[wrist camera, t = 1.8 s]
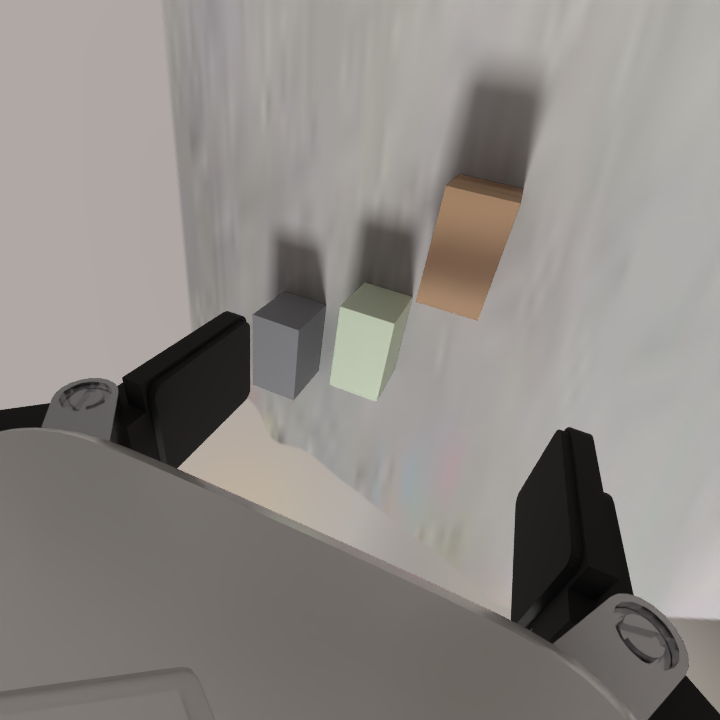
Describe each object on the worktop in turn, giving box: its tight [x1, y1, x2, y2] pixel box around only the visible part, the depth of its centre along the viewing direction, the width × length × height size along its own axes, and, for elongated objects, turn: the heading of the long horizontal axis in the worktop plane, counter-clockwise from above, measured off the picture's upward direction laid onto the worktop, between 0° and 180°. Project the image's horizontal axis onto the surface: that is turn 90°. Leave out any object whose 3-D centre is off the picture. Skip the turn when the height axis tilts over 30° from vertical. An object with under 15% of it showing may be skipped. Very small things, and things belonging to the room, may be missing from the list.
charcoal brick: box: [253, 292, 326, 400], centre depth 34 cm, size 7×4×5 cm, turn 171°
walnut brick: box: [416, 174, 523, 321], centre depth 25 cm, size 7×4×5 cm, turn 171°
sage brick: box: [330, 282, 413, 402], centre depth 31 cm, size 7×4×5 cm, turn 171°
